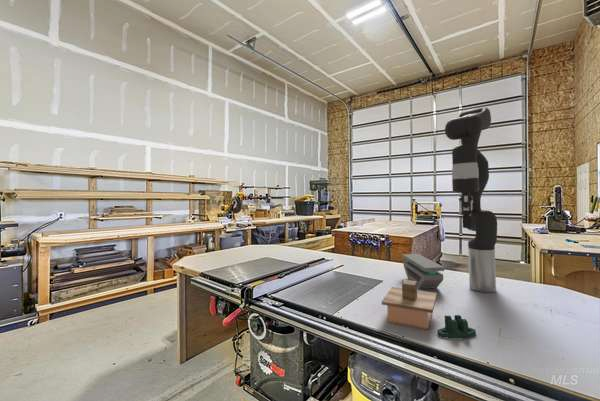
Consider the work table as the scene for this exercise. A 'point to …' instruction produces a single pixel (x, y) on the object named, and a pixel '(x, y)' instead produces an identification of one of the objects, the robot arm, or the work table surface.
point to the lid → (410, 297)
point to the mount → (456, 328)
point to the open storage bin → (409, 317)
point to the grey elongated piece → (422, 271)
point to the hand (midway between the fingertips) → (466, 226)
